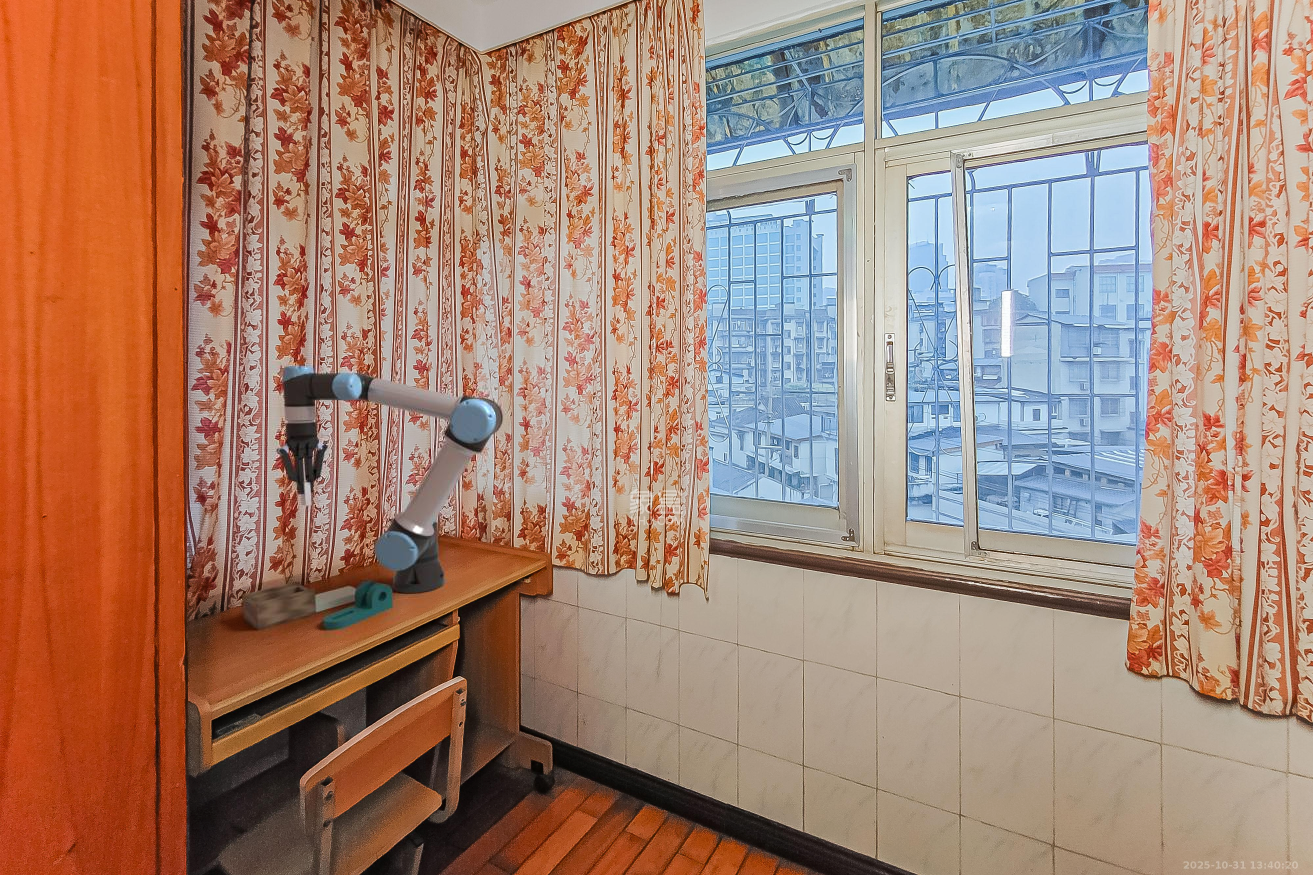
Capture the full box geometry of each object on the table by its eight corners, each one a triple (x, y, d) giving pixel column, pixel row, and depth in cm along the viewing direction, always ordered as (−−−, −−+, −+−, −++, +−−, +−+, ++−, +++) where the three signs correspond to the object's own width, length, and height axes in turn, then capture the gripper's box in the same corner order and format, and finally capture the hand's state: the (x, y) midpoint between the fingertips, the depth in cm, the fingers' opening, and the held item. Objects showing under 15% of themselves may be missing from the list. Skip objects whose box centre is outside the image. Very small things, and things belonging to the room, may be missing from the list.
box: (300, 604, 170) (299, 580, 170) (316, 613, 164) (314, 588, 164) (243, 620, 159) (242, 594, 159) (258, 630, 153) (256, 603, 153)
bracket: (375, 603, 172) (374, 577, 171) (392, 608, 169) (391, 581, 168) (317, 627, 156) (316, 598, 155) (335, 632, 153) (334, 602, 152)
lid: (350, 593, 181) (349, 585, 180) (363, 600, 176) (362, 591, 175) (303, 606, 170) (303, 598, 170) (316, 613, 165) (315, 605, 165)
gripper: (318, 419, 174) (323, 499, 177) (269, 422, 164) (275, 507, 166) (331, 420, 170) (336, 502, 172) (282, 423, 159) (287, 510, 162)
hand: (306, 504), depth 169 cm, fingers closed
